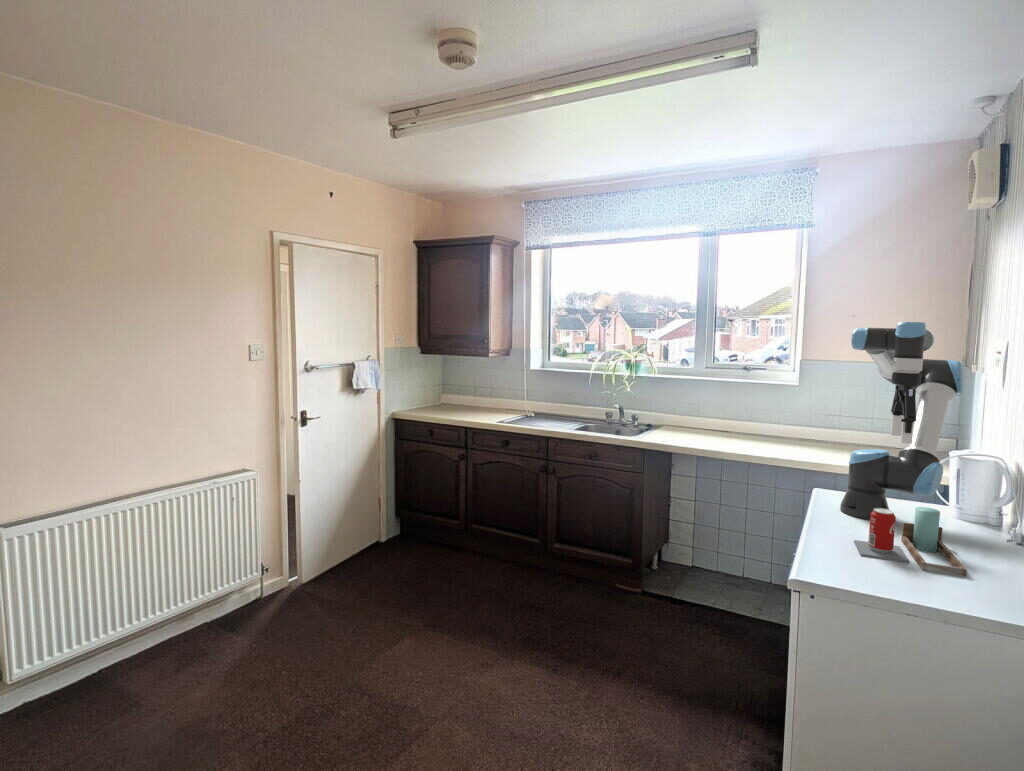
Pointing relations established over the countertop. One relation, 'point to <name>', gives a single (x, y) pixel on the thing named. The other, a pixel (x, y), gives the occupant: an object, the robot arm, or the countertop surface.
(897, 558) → the coaster
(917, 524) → the can
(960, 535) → the countertop surface
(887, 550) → the beverage can
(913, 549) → the dispenser rack
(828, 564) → the countertop surface
